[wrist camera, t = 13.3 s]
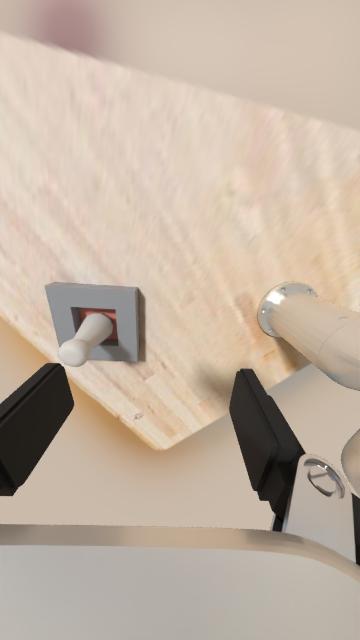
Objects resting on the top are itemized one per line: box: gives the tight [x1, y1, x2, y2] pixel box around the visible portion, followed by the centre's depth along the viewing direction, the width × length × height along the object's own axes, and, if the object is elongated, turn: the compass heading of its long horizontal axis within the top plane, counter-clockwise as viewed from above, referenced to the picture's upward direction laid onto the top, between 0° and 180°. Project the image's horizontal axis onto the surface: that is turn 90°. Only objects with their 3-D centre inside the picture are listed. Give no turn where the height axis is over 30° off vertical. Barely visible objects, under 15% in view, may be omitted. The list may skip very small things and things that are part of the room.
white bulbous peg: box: [58, 313, 113, 367], centre depth 32 cm, size 6×6×13 cm
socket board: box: [45, 282, 140, 362], centre depth 36 cm, size 16×16×3 cm
